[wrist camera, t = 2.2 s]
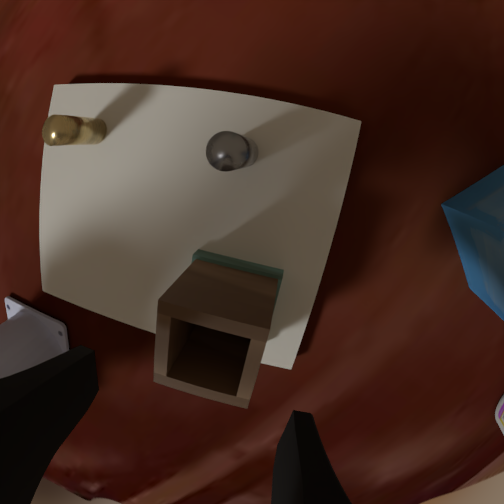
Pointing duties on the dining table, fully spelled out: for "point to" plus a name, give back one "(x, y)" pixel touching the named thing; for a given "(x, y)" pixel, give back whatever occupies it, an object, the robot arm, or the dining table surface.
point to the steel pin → (231, 151)
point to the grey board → (190, 199)
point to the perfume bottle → (481, 236)
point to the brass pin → (73, 130)
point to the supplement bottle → (500, 414)
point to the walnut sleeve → (215, 327)
